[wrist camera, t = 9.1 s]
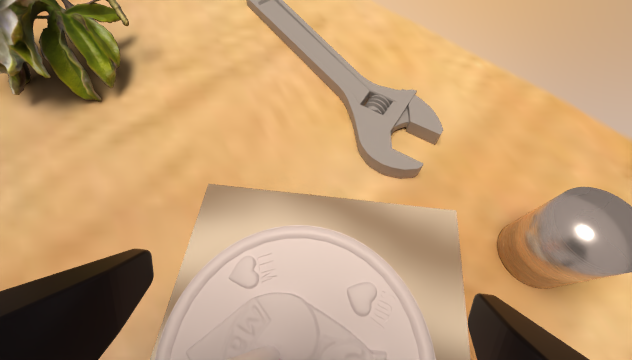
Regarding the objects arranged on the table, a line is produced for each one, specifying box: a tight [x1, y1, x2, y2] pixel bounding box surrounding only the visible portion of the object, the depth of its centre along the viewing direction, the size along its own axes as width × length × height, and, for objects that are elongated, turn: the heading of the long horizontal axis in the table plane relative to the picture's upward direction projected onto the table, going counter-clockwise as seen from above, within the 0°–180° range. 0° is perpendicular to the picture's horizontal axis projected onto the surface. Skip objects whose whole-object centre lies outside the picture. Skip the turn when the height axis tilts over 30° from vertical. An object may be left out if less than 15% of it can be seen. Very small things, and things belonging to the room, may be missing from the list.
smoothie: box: [154, 225, 436, 360], centre depth 9 cm, size 6×6×14 cm
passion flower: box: [0, 0, 129, 101], centre depth 23 cm, size 11×11×12 cm
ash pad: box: [150, 184, 471, 360], centre depth 16 cm, size 16×16×1 cm
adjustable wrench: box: [247, 0, 443, 178], centre depth 25 cm, size 25×6×2 cm, turn 30°
